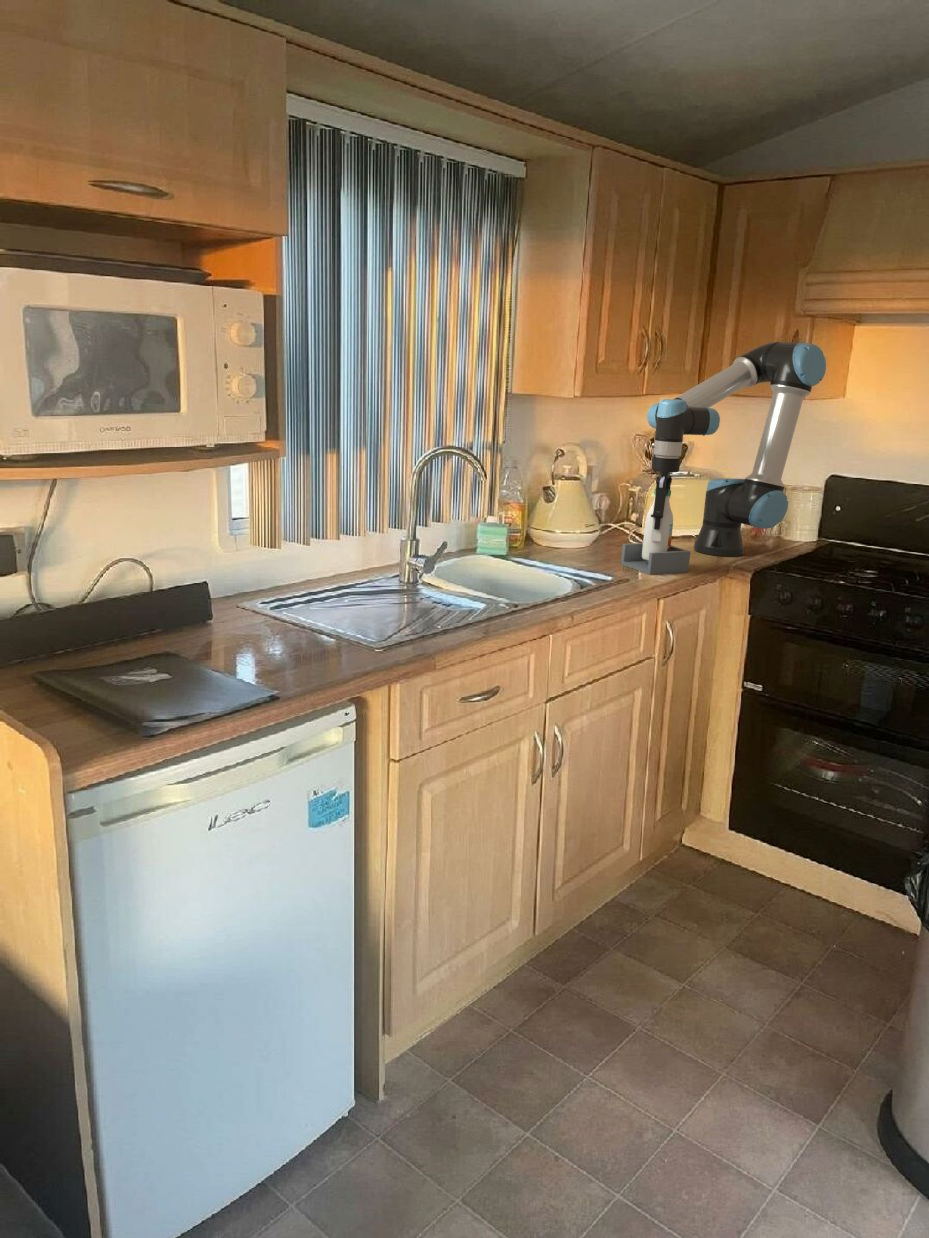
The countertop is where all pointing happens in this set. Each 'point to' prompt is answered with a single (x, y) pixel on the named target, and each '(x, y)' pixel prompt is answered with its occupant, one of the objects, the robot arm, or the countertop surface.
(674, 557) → the tray
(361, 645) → the countertop surface
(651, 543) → the milk bottle
